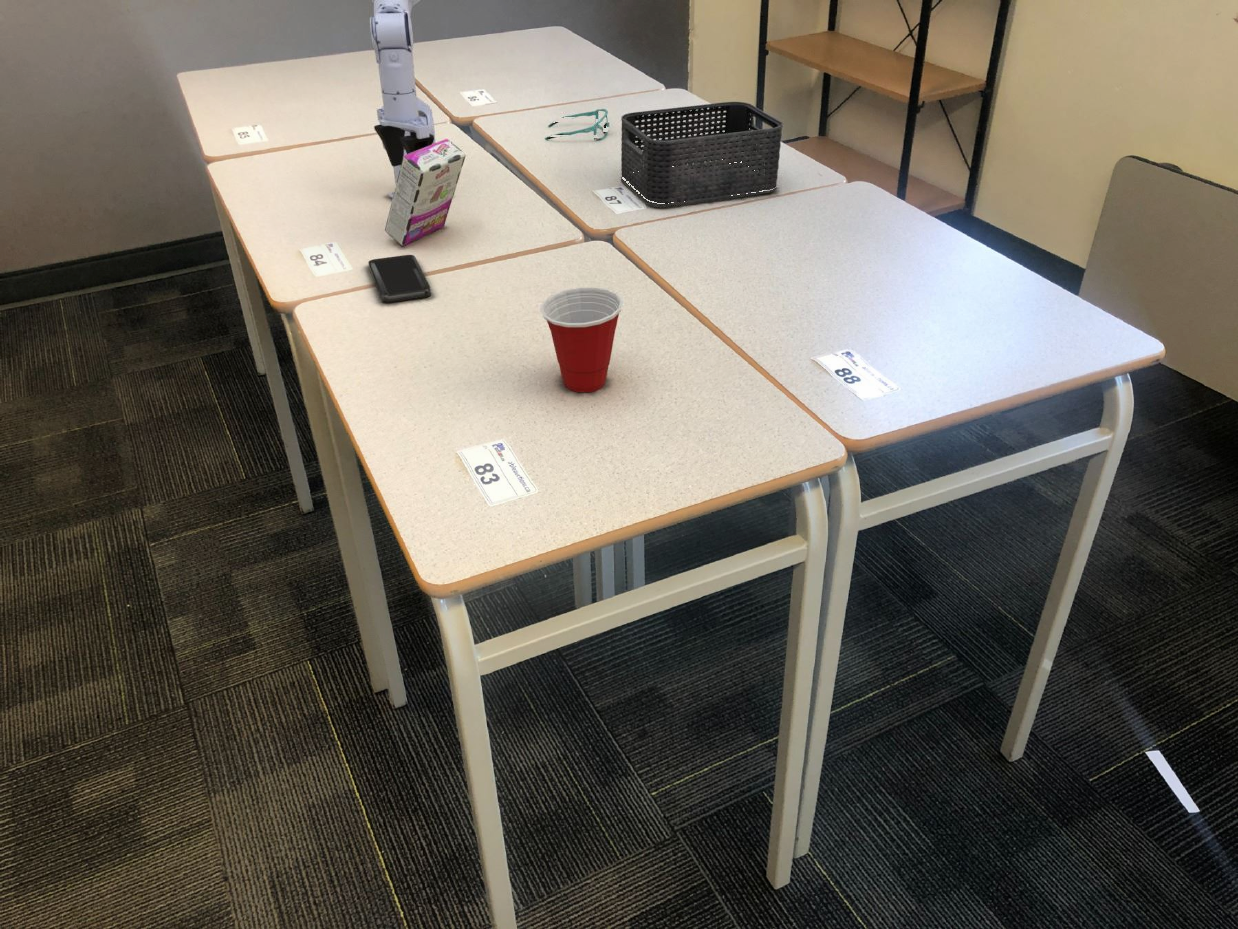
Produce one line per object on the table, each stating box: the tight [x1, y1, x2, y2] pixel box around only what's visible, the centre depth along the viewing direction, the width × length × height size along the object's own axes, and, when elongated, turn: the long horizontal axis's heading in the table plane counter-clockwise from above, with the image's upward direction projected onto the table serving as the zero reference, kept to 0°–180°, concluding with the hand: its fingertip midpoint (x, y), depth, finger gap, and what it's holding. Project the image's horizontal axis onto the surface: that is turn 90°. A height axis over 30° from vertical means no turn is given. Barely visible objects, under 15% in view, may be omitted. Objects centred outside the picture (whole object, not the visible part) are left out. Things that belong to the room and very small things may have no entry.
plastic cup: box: [539, 286, 624, 394], centre depth 126 cm, size 11×11×12 cm
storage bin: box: [620, 101, 784, 209], centre depth 190 cm, size 29×19×13 cm
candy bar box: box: [384, 138, 467, 247], centre depth 165 cm, size 11×5×16 cm, turn 148°
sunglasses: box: [544, 108, 610, 141], centre depth 221 cm, size 14×15×5 cm
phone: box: [367, 254, 432, 304], centre depth 155 cm, size 8×1×15 cm
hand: (408, 170), depth 168 cm, fingers open, 7 cm apart
